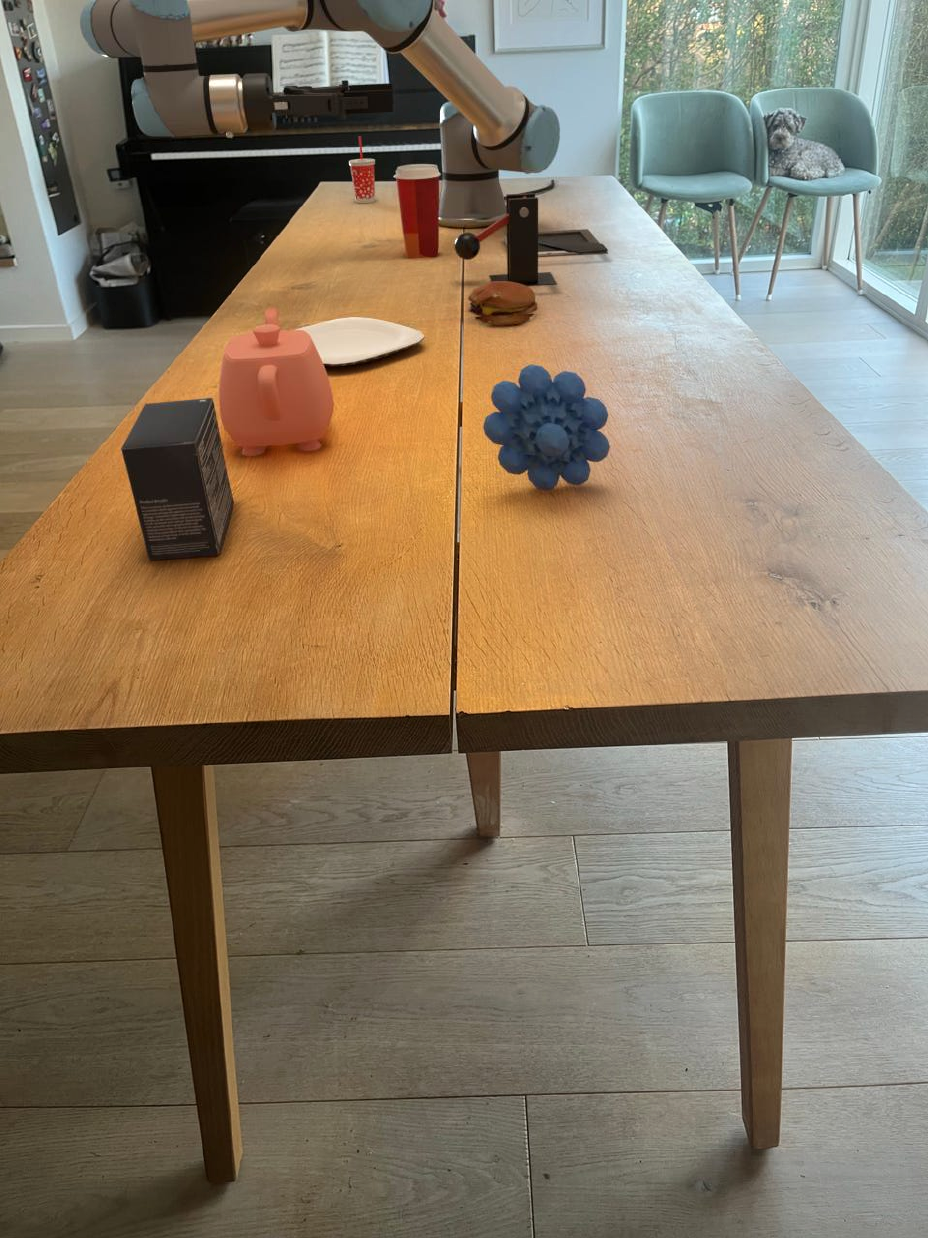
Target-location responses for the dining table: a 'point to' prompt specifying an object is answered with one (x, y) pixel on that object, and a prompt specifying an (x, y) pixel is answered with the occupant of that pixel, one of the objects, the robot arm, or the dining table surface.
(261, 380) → the teapot
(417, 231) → the coffee cup
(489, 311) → the burger
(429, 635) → the dining table surface
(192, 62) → the robot arm
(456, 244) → the switch lever
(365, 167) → the beverage cup
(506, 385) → the blue beaded flower
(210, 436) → the small box
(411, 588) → the dining table surface
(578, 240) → the picture frame
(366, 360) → the plate
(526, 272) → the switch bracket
